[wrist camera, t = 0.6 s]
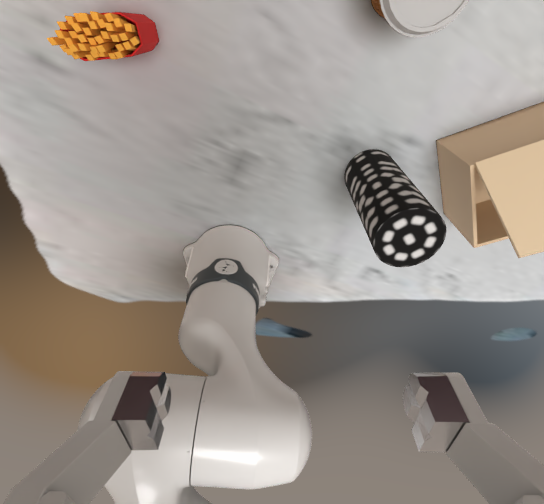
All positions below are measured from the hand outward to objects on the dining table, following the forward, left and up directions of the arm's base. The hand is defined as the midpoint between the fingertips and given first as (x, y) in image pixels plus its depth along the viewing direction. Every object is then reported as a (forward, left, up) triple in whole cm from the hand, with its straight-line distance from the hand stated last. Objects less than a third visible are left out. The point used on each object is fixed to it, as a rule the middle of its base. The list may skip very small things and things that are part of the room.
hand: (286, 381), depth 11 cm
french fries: (+6, +20, -46) cm, 51 cm away
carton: (-4, -37, -46) cm, 59 cm away
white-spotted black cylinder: (-9, -17, -46) cm, 50 cm away
